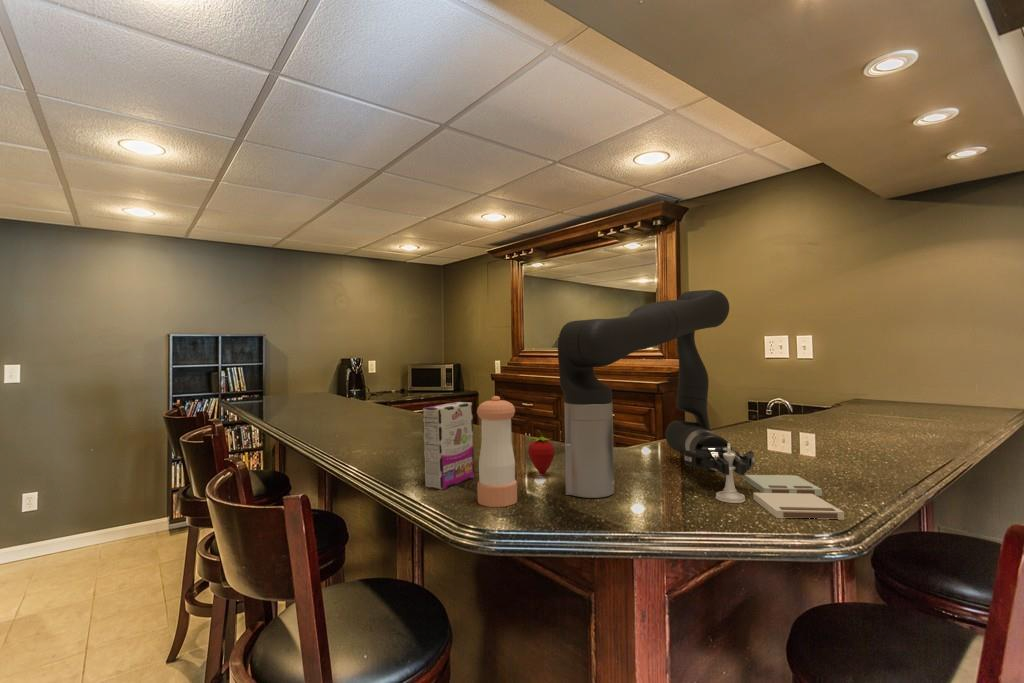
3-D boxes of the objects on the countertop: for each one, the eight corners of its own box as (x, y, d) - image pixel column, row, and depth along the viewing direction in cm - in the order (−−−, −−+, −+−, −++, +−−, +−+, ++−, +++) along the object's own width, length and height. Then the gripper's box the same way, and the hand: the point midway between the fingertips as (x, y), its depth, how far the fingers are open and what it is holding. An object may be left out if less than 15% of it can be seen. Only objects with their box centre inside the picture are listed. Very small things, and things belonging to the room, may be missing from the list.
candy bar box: (456, 475, 108) (455, 401, 109) (474, 477, 106) (473, 402, 106) (422, 487, 99) (421, 406, 99) (441, 490, 96) (440, 407, 97)
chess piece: (743, 496, 89) (742, 441, 90) (747, 504, 85) (745, 446, 85) (714, 494, 91) (713, 440, 91) (716, 501, 86) (715, 445, 87)
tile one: (777, 518, 77) (776, 509, 77) (753, 499, 87) (753, 491, 87) (844, 520, 76) (844, 511, 76) (812, 500, 86) (812, 492, 86)
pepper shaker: (477, 496, 92) (475, 394, 93) (515, 494, 93) (513, 394, 93) (478, 508, 85) (476, 398, 86) (519, 506, 86) (517, 397, 86)
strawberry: (528, 479, 103) (527, 432, 104) (528, 471, 111) (527, 427, 111) (556, 479, 103) (555, 432, 103) (554, 471, 111) (553, 426, 111)
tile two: (764, 494, 90) (764, 487, 90) (745, 480, 100) (745, 474, 100) (822, 496, 89) (822, 488, 89) (796, 481, 99) (796, 474, 99)
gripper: (673, 431, 103) (693, 447, 86) (741, 431, 102) (775, 448, 84) (673, 467, 103) (694, 490, 86) (742, 468, 101) (777, 491, 84)
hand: (734, 469), depth 85 cm, fingers closed on chess piece
